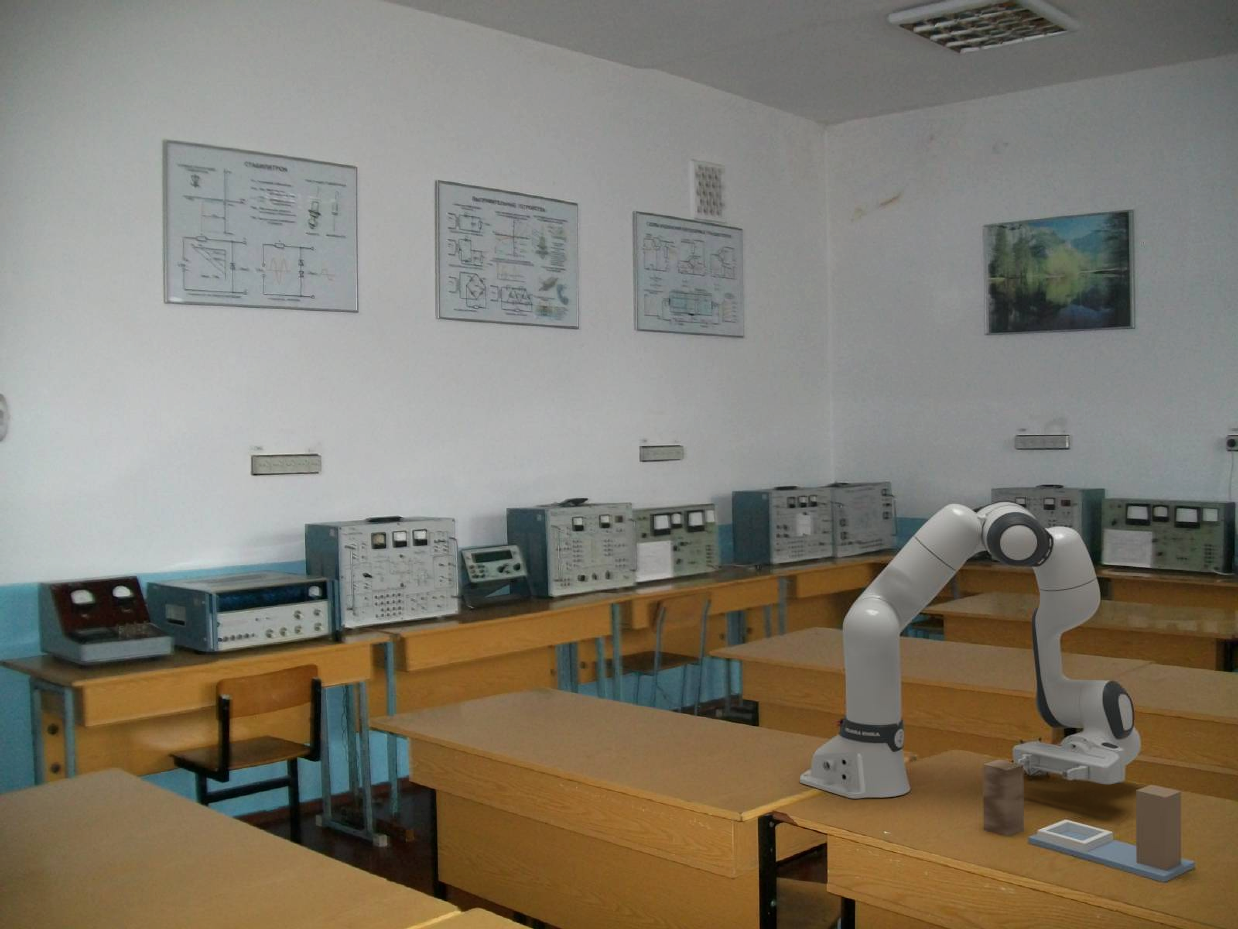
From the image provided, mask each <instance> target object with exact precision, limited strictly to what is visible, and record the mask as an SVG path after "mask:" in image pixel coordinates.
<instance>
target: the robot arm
mask: <svg viewBox="0 0 1238 929" xmlns="http://www.w3.org/2000/svg"><path fill="white" fill-rule="evenodd" d="M985 551H986V552H988V553H989V554H990V555H992V557H993V558H994V559H995V560H996V561H998V562H999V563H1001V564H1003V565H1007V566H1010V567H1031V568H1032V570H1033V572H1034V574H1035V578H1036V583H1037V587H1038V590H1039V605H1038V607H1037V608H1035V609H1034V611H1033V612H1032V617H1031V637H1032V638H1031V639H1032V647H1033V657H1034V658H1033V659H1034V667H1035V669H1034V670H1035V675H1036V676H1035V678H1036V692H1035V693H1036V696H1035V705H1036V710H1037V713H1038V714H1039V716H1040V718H1041V719H1042V720H1043V721H1044V722H1045V723H1046V724H1047V725H1048V726H1049V727H1051V728H1053V729H1071V728H1075V729H1076V728H1077V729H1083V730H1082V731H1079V732H1077V733H1074V734H1071V735H1067V736H1066V737H1064V738H1063V739H1062V741H1060V744H1059V745H1058V744H1057V745H1056V744H1051V743H1046V742H1042V741H1041V742H1031V741H1029V742H1030V743H1024V744H1022V743H1020V744H1016V745H1014V746H1013V748H1012V759H1013V761H1014V762H1013V763H1017V764H1021V765H1023V771H1024V770H1026V769H1030V768H1033V769H1037V770H1042V771H1046V772H1048V773H1052V774H1055V775H1060V776H1062V779H1064V780H1067V781H1073V780H1077V781H1088V782H1091V783H1095V784H1096V783H1097V784H1101V785H1112V784H1116V783H1122V782H1124V781H1125V779H1126V778H1125V777H1126V766H1127V765H1128V764H1130V763H1132V762H1133V761H1134V760H1135V759H1136V758H1137V756H1138V755H1139V753H1140V751H1141V747H1142V743H1141V741H1142V740H1141V736H1140V734H1139V732H1138V730H1137V729H1136V728H1135V727H1134V725H1135V708H1134V703H1133V700H1132V698H1131V696H1130V695H1129V693H1128V691H1127V690H1126V689H1125V687H1124V686H1123V685H1122V684H1120V683H1119V682H1118V681H1115V680H1108V679H1107V680H1106V679H1105V680H1104V679H1090V680H1089V679H1070V678H1069V677H1067V676H1066V675H1065V674H1064V672H1063V671H1064V670H1063V662H1062V661H1063V660H1062V651H1061V650H1062V649H1061V641H1060V640H1061V637H1062V634H1063V633H1065V632H1068V631H1069V630H1072V629H1074V628H1076V627H1079V626H1080V625H1083V624H1084V623H1085V622H1087V621H1089V619H1091V618H1092V617H1093V616H1094V615H1095V613H1096V612H1097V611H1098V609H1099V606H1100V603H1101V592H1100V591H1101V590H1100V585H1099V581H1098V578H1097V575H1096V572H1095V568H1094V564H1093V561H1092V559H1091V556H1090V553H1089V551H1088V549H1087V546H1086V544H1085V543H1084V540H1083V538H1082V537H1081V535H1080V534H1079V532H1078V531H1076V530H1075V529H1074V528H1072V527H1071V528H1070V527H1066V526H1051V527H1048V528H1045V527H1044V526H1043V525H1042V524H1041V523H1040V522H1039V521H1038V520H1037V518H1036V517H1035V516H1034V514H1032V513H1031V511H1029V510H1028V509H1027V508H1026V507H1024V506H1023V505H1020V503H1018V502H1016V501H1013V500H1007V499H1001V500H996V501H992V502H990V503H988V504H985V505H982V506H979V507H976V508H974V509H971V508H970V507H968V506H966V505H963V504H959V503H950V504H947V505H946V506H944V507H943V508H941V509H940V510H939V511H937V512H936V513H935V514H934V515H933V516H931V518H929V519H928V520H927V521H926V522H925V523H924V524H923V525H922V526H921V527H919V529H918V530H917V531H916V532H915V534H914V535H913V536H912V537H911V538H910V539H909V540H908V541H907V543H905V545H904V546H903V547H902V548H901V549H900V551H899V552H898V553H897V554H896V555H895V556H894V557H893V559H892V560H891V561H890V562H889V563H888V565H886V567H885V568H884V569H883V570H882V571H881V572H880V573H879V574H878V575H877V577H876V578H874V580H873V581H872V582H871V583H870V584H869V585H868V586H867V588H866V589H865V590H864V591H863V592H862V593H861V594H860V595H859V596H858V598H857V599H856V600H855V601H854V602H853V604H852V605H851V606H850V608H849V610H848V612H846V613H847V614H846V615H845V617H844V619H843V622H842V639H843V640H842V642H843V658H844V660H843V661H844V672H845V673H844V674H845V713H846V714H845V716H844V717H842V718H840V719H839V720H836V721H835V722H834V724H835V725H834V728H838V727H839V731H838V734H837V735H836V736H835V735H834V737H832V738H831V739H829V740H828V741H827V742H825V743H824V744H823V745H821V746H819V747H818V748H817V749H816V751H814V753H813V756H812V759H811V764H810V769H809V770H806V771H805V772H803V773H802V774H801V775H800V777H799V778H800V779H799V782H800V784H804V785H807V786H810V787H813V788H816V789H819V790H823V791H826V792H830V793H833V794H836V795H839V796H843V797H846V798H848V799H864V798H891V797H897V796H898V797H899V796H902V795H905V794H907V793H909V792H910V791H911V786H910V782H909V779H908V775H907V770H906V765H905V758H904V750H903V748H904V743H905V733H904V732H905V729H904V727H905V726H904V724H905V723H904V720H903V718H902V678H901V677H902V676H901V673H902V672H901V652H900V651H901V649H900V648H901V647H900V635H901V633H902V632H903V631H904V630H905V628H907V626H908V625H909V624H910V623H911V622H912V621H913V620H914V619H915V618H916V617H917V615H919V614H920V612H922V611H923V610H924V609H925V608H926V606H928V605H929V604H930V603H931V602H932V600H934V598H936V596H937V595H938V594H939V593H940V592H941V591H942V589H943V588H945V586H946V585H947V584H948V583H949V582H950V580H951V579H952V578H954V576H955V574H957V572H959V570H960V569H961V568H962V567H963V565H965V563H966V562H967V560H968V559H970V558H972V557H973V556H974V555H975V554H977V553H980V552H985Z"/></svg>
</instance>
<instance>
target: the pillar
mask: <svg viewBox="0 0 1238 929" xmlns="http://www.w3.org/2000/svg"><path fill="white" fill-rule="evenodd" d="M982 766H983V767H982V770H983V771H982V775H983V778H982V780H983V782H982V784H983V785H982V786H983V788H982V789H983V790H982V792H983V793H982V794H983V795H982V796H983V800H982V802H983V831H988V832H990V833H994V834H998V835H1001V836H1005V837H1010V836H1013V835H1015V834H1018V833H1021V832H1023V831H1024V830H1025V829H1024V824H1025V823H1024V819H1025V818H1024V814H1025V813H1024V808H1025V807H1024V806H1025V805H1024V770H1023V765H1021V764H1017V763H1014V762H1011V761H1008V760H1003V759H999V758H998V759H996V760H992V761H990V762H986V763H984V764H983V765H982Z"/></svg>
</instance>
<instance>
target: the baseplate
mask: <svg viewBox="0 0 1238 929" xmlns="http://www.w3.org/2000/svg"><path fill="white" fill-rule="evenodd" d="M1135 792H1136V793H1135V796H1136V797H1135V813H1136V814H1135V823H1136V824H1135V826H1136V827H1135V828H1136V831H1135V832H1136V833H1135V835H1136V836H1135V838H1136V839H1135V840H1136V841H1135V842H1136V843H1135V844H1136V845H1133V844H1132V843H1131V844H1130V843H1127V842H1123V841H1120V840H1116V839H1114V832H1113V831H1110V830H1106V829H1104V828H1103V829H1102V828H1100V827H1099V828H1098V827H1096V826H1095V827H1094V826H1091V825H1088V824H1084V823H1081V822H1077V821H1074V820H1069V819H1063V820H1061V821H1059V822H1056V823H1053V824H1050V825H1048V826H1045V827H1043V828H1041V829H1037V833H1035V834H1033V835H1030V836H1028V837H1027V840H1028V842H1027V843H1028V844H1031V845H1033V846H1038V847H1041V848H1045V849H1049V850H1052V851H1055V852H1059V853H1061V852H1062V854H1065V855H1069V856H1072V855H1073V856H1072V857H1075V856H1076V858H1079V859H1083V860H1085V859H1086V861H1089V860H1090V861H1089V862H1093V863H1096V862H1098V863H1097V864H1099V863H1100V864H1099V865H1102V864H1103V866H1107V867H1110V868H1112V869H1117V870H1121V871H1124V872H1126V873H1130V874H1133V875H1137V876H1141V877H1144V878H1147V879H1150V880H1155V881H1158V882H1160V883H1167V882H1168V881H1171V880H1172V879H1174V878H1176V877H1177V878H1178V877H1179V876H1180V875H1183V874H1185V873H1187V872H1189V871H1191V870H1193V869H1195V868H1196V867H1195V866H1196V865H1195V864H1196V863H1195V861H1193V860H1190V859H1186V858H1183V857H1182V791H1181V790H1177V789H1172V788H1168V787H1164V786H1159V785H1154V784H1150V785H1147V786H1145V787H1142V788H1139V789H1136V790H1135Z"/></svg>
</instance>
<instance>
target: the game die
mask: <svg viewBox="0 0 1238 929" xmlns="http://www.w3.org/2000/svg"><path fill="white" fill-rule="evenodd" d="M1019 742H1020V744H1024V743H1030V742H1042V736H1040V737H1039V738H1038V740H1030V741H1024V740H1023V739H1021V738H1020V739H1019ZM1010 762H1013V763H1014V761H1013V760H1011V761H1010ZM1023 772H1024V773H1025V774H1027V775H1028V777H1027V778H1028V781H1030V780H1031V778H1032V777H1036V776H1044V775H1046V776H1047V778H1051V775H1050V774H1049V772H1046V771H1042V770H1037V769H1033V768H1030V769H1026V770H1023Z"/></svg>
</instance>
